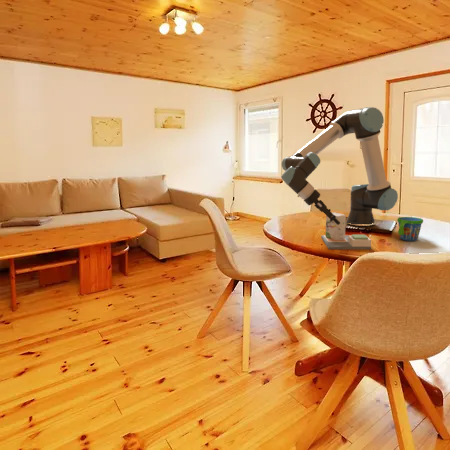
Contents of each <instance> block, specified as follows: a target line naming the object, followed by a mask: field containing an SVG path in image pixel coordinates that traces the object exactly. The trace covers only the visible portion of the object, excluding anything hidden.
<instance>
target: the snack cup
mask: <svg viewBox="0 0 450 450" xmlns="http://www.w3.org/2000/svg"><path fill="white" fill-rule="evenodd" d="M396 219H397V223H398V230H397V233H398V235H399V239H400V240H402V241H406V242H415V241H417V240H418V239H419V236H420V232H421V229H422V228H421V227H422V224H423V223H424V219H423V218H421V217H415V216H414V217H413V216H399V217H398V218H396Z"/></svg>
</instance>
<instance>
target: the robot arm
mask: <svg viewBox="0 0 450 450" xmlns="http://www.w3.org/2000/svg"><path fill="white" fill-rule="evenodd" d="M384 121H385V120H384V116H383V113H382V112H381V110H380V109H379V108H377V107H373V106H371V107H370V106H369V107H362V108H356V109H351V110H347V111H345V112H344V113H342V114H341V115H339V116H338V117H336V119H334V120H332V121H331V122H330V123H329V125H328V127H327V128H326V129H324V130H323V131H322V132H320V133H319V134H318V135H317V136H315V137H314V138H313V139H312V140H310V141H309V142H307V143H306V144H305V145H304V146H302V147H301V148H300V149H299V150H297V151H296V152H294V153H293V154H292V155H291V156H286V157H284V158H283V159H282V161H281V168H282V170H283V173H282V174H281V179H282V181H283V182H284V183H285V184H286V185H287V186H288V187H289V188H290V189H292V191H293V192H295V194H297V198H301V199H302V200H303V201H304V203H305V204H306V205H307V206H311V205H313V204H314V207H315V208H316V209H318V210H319V211H320V213H323V214H324V215H327V216H328V217H329V218H330V222H331V221H332V222H333V223H334V224H335V225H336V226H337V227H338V228H339V229H340V230H341V231H342V230H343V229H344V228H345V229H346V227H347V226H346V224H345V225H344V224H343V223H342V222H341V221H340V220H339V219H338V218H337V217H336V216H335V215H333V214H332V213H333V212H332V211H331V209H330V208H328V207H327V205H326V204H325V202H324V201H323V200H321V199H319V198H320V197H321V193H320V192H319V191H318V190H317V189H315V187H314V186H313V185H312V184H311V183H310V182H309V181H308V180H307V179H308V177H309V176H310V175H311V174H312V173H313V172H314V171H315V170H316V169H317V168H318V166H320V165H321V158H320V157H319V156H318V154H320V153H321V152H323V151H324V150H325V149H326V148H328V147H329V146H330V145H331V144H332V143H334V142H335V141H336V140H338V139H342V138H343V137H345V136H347V135H350V134H354V136H355V139H356V140H357V141H359V143H360V144H359V145H360V148H361V152H362V157H363V163H364V167H365V170H366V171H365V173H366V176H367V181H368V183H366V184H364V183H363V184H354V185H352V186H351V189H350V190H351V191H350V208H349V213H348V215H347V217H346V218H347V219H346V223H347V222H348V223H351V224H372V223H376V221H375V217H374V214H373V209H375V210H379V211H389V210H391V209H393V208H394V207H395V206H396V204H397V202H398V199H399V198H398V196H399V193H398V191H397V190H396V189H395V188H392V186H391V182H390V181H388V180H387V177H386V170H385V167H384V161H383V160H384V159H383V156H382V151H381V146H380V140H379V135H380V134H381V129H382V128H383V124H384Z"/></svg>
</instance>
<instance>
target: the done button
mask: <svg viewBox="0 0 450 450" xmlns="http://www.w3.org/2000/svg"><path fill="white" fill-rule="evenodd" d="M351 235H352V238H353V239H368V238H369V237H368V236H367V235H366V234H351Z"/></svg>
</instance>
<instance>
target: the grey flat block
mask: <svg viewBox="0 0 450 450" xmlns="http://www.w3.org/2000/svg"><path fill="white" fill-rule="evenodd" d="M352 235H353V234H351V235H350V234H349V235H346V234H345V239H343V240H334V239H331V238H328V237H326V234H323V235H320V236H321V240H322V242H323V243H324V244H325V246H326V248H327V249H328V250H372V239H371V238H369V237H368V239H353V238H352Z"/></svg>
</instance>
